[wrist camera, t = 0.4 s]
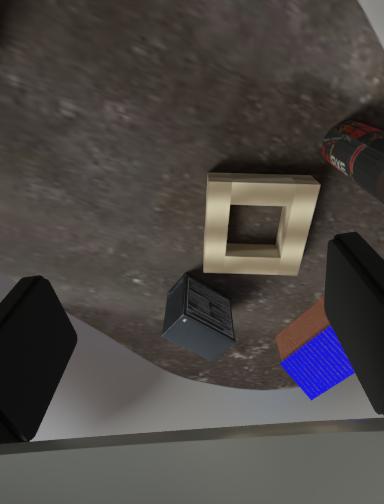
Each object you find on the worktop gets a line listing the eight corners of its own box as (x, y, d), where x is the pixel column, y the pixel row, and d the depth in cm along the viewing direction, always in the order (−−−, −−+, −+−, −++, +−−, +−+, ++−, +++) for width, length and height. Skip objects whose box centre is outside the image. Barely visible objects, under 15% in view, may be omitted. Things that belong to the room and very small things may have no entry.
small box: (165, 294, 56) (159, 337, 47) (185, 271, 53) (182, 313, 44) (210, 319, 59) (212, 364, 50) (231, 298, 56) (237, 342, 47)
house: (272, 336, 62) (286, 388, 52) (351, 271, 53) (386, 319, 43) (313, 358, 65) (334, 411, 55) (394, 301, 56) (435, 352, 46)
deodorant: (375, 142, 41) (455, 177, 28) (338, 174, 43) (395, 219, 31) (351, 110, 39) (425, 132, 26) (313, 145, 41) (364, 181, 29)
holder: (207, 172, 44) (208, 181, 40) (311, 175, 44) (320, 184, 40) (203, 258, 52) (203, 272, 48) (290, 261, 51) (297, 275, 48)
